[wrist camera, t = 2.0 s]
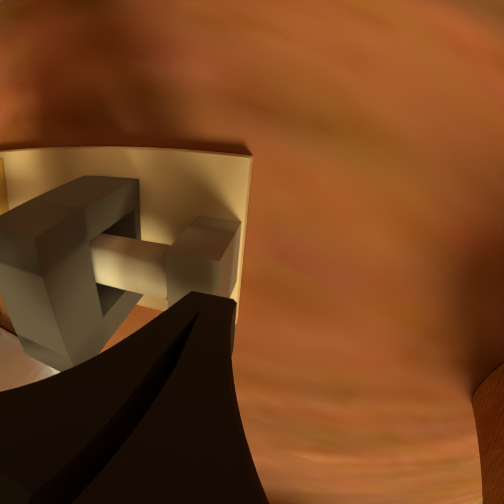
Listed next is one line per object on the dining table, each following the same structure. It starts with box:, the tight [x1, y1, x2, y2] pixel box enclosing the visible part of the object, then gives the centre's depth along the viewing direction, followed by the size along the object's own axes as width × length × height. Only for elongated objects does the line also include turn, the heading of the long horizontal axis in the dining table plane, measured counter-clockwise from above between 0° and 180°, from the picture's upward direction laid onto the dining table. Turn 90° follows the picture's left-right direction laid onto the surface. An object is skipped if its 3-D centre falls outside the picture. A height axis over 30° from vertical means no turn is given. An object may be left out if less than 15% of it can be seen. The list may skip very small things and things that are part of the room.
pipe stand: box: [0, 146, 253, 325], centre depth 13 cm, size 20×8×4 cm, turn 85°
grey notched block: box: [0, 175, 144, 372], centre depth 11 cm, size 3×6×6 cm, turn 175°
